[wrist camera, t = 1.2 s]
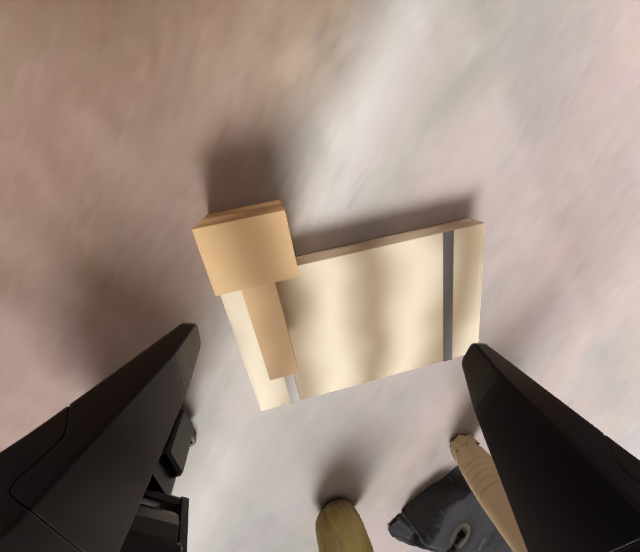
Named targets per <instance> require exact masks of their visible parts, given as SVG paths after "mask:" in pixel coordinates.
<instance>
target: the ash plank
mask: <svg viewBox="0 0 640 552" xmlns="http://www.w3.org/2000/svg"><path fill="white" fill-rule="evenodd" d="M484 235H485V223H483V222H480V221H476V220H473V219H469V218H466V219H462V220H458V221H453V222H449V223H444V224H440V225H435V226H431V227H427V228H422V229H418V230H413V231H409V232H404V233H400V234H395V235H391V236H387V237H382V238H378V239H373V240H369V241H364V242H360V243H356V244H351V245H347V246H342V247H338V248H333V249H329V250H325V251H320V252H316V253H311V254H307V255H302V256H298V257H295V258H296V263H297V267H298V272H299V277H295V278H291V279H287V280H282V281H278V282H276V284H277V288H278V291H279V295H280V299H281V303H282V307H283V311H284V315H285V318H286V322H287V326H288V330H289V334H290V338H291V342H292V345H293V349H294V353H295V357H296V361H297V366H298V372H299V373H296V374H292V375H288V376H285V377H281V378H277V379H274V380H270V379H269V376H268V372H267V369H266V366H265V363H264V360H263V357H262V354H261V350H260V347H259V344H258V341H257V338H256V335H255V332H254V328H253V325H252V322H251V319H250V316H249V313H248V309H247V306H246V303H245V300H244V297H243V294H242V291H241V290H240V291H235V292H231V293H227V294H222V295H221V298H222V301H223V304H224V307H225V310H226V312H227V315H228V318H229V321H230V324H231V327H232V329H233V332H234V335H235V338H236V341H237V344H238V346H239V349H240V352H241V355H242V358H243V361H244V363H245V366H246V369H247V372H248V375H249V378H250V380H251V383H252V386H253V389H254V392H255V395H256V398H257V400H258V403H259V406H260V409H261V411H263V410H267V409H271V408H274V407H278V406H281V405H285V404H289V403H291V404H292V403H296V402H299V401H301V400H303V399H307V398H310V397H314V396H318V395H321V394H325V393H328V392H332V391H336V390H339V389H343V388H346V387H350V386H354V385H357V384H361V383H365V382H368V381H372V380H375V379H379V378H383V377H386V376H390V375H394V374H397V373H401V372H404V371H408V370H412V369H415V368H419V367H422V366H426V365H430V364H433V363H437V362H441V361H447V360H451V359H452V358H455V357H459V356H462V355H465V354H466V352H467V350H468V348H469V346H470V345H471V344H472V343H478V339H479V322H480V304H481V287H482V270H483V253H484Z"/></svg>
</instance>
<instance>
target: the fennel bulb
mask: <svg viewBox="0 0 640 552" xmlns="http://www.w3.org/2000/svg"><path fill="white" fill-rule="evenodd" d="M316 536H317V542H318V547H319V552H374V551H373V547H372V545H371V542H370V539H369V537H368V535H367V532H366V529H365V527H364V524H363V522H362V519H361V518H360V515H359V514H358V512H357V511H356V509H355V507H354V506H353V505H352V503H351V502H350V501H348V500H346V499H337V500H333V501H331V502H329V503H327V505H326V506H325V507H324V508H323V509H322V510H321V511H320V513H319V515H318V517H317V520H316Z"/></svg>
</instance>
